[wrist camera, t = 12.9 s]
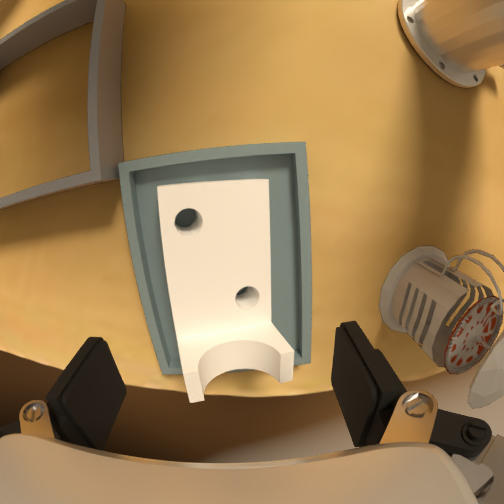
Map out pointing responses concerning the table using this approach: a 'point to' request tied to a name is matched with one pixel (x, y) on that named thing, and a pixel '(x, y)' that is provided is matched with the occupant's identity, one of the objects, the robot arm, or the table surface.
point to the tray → (148, 221)
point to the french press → (436, 316)
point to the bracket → (221, 281)
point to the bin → (99, 85)
